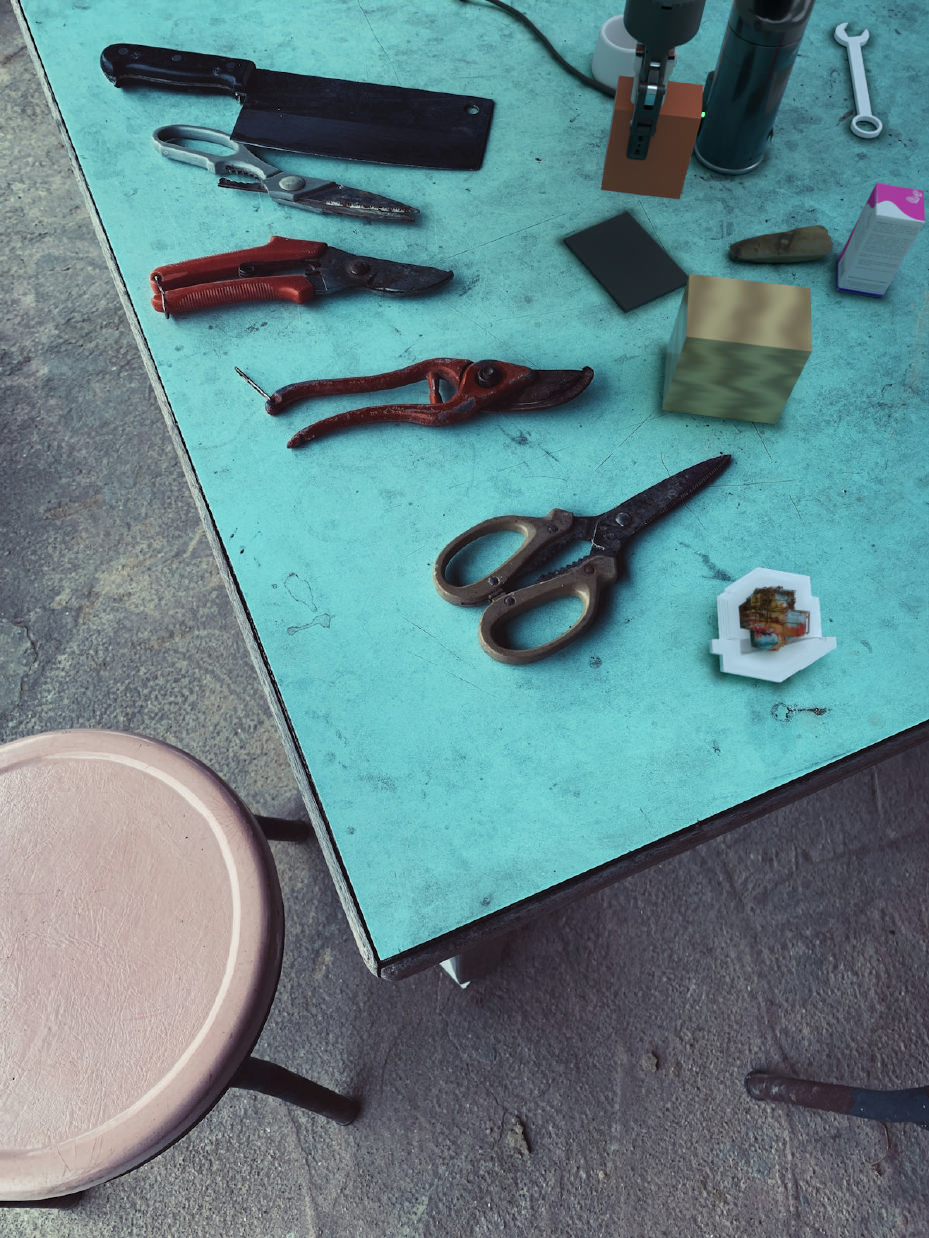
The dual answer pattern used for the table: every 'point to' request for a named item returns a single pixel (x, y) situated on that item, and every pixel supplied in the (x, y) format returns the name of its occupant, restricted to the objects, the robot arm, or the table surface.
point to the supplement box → (880, 240)
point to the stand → (737, 348)
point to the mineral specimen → (769, 626)
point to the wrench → (858, 80)
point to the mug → (615, 53)
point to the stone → (785, 246)
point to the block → (653, 143)
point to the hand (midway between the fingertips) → (637, 138)
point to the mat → (626, 261)
